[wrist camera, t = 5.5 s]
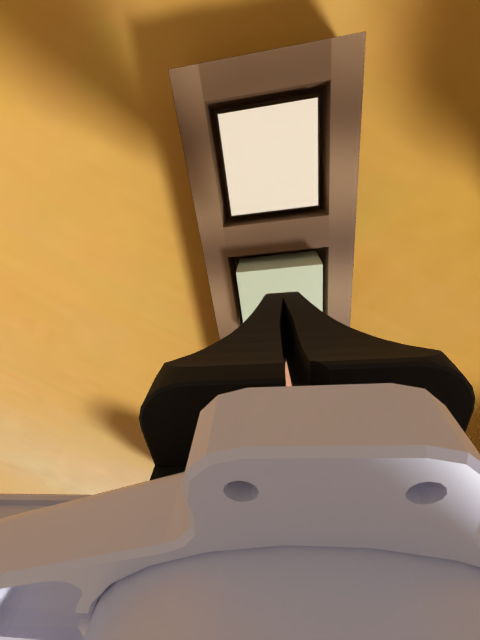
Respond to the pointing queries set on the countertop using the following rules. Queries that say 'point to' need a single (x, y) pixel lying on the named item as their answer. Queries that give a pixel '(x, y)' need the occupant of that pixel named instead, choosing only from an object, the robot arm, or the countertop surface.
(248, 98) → the board
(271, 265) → the key sage
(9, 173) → the countertop surface
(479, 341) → the countertop surface
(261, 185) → the key cream
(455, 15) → the countertop surface
